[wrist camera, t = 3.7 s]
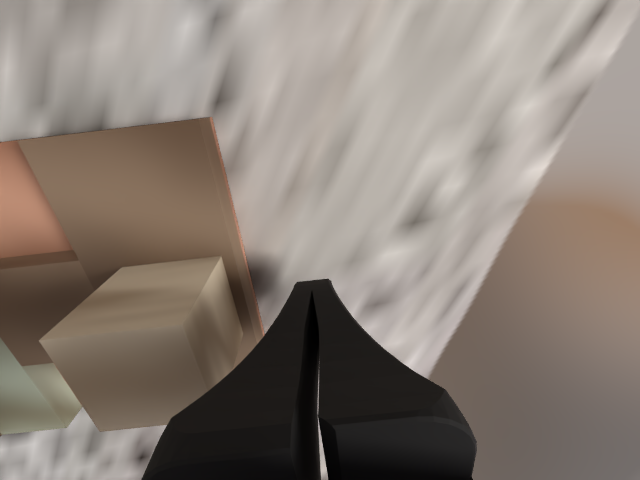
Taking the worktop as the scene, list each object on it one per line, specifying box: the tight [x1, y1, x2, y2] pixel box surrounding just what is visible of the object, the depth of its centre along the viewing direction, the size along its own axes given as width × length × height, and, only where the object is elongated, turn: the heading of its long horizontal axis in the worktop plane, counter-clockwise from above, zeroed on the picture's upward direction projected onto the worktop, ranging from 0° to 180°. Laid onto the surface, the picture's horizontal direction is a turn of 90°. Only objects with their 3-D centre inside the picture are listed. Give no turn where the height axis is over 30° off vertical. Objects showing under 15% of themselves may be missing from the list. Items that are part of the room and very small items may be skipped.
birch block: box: [39, 256, 243, 432], centre depth 11 cm, size 4×4×4 cm
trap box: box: [0, 117, 265, 436], centre depth 12 cm, size 14×15×4 cm
